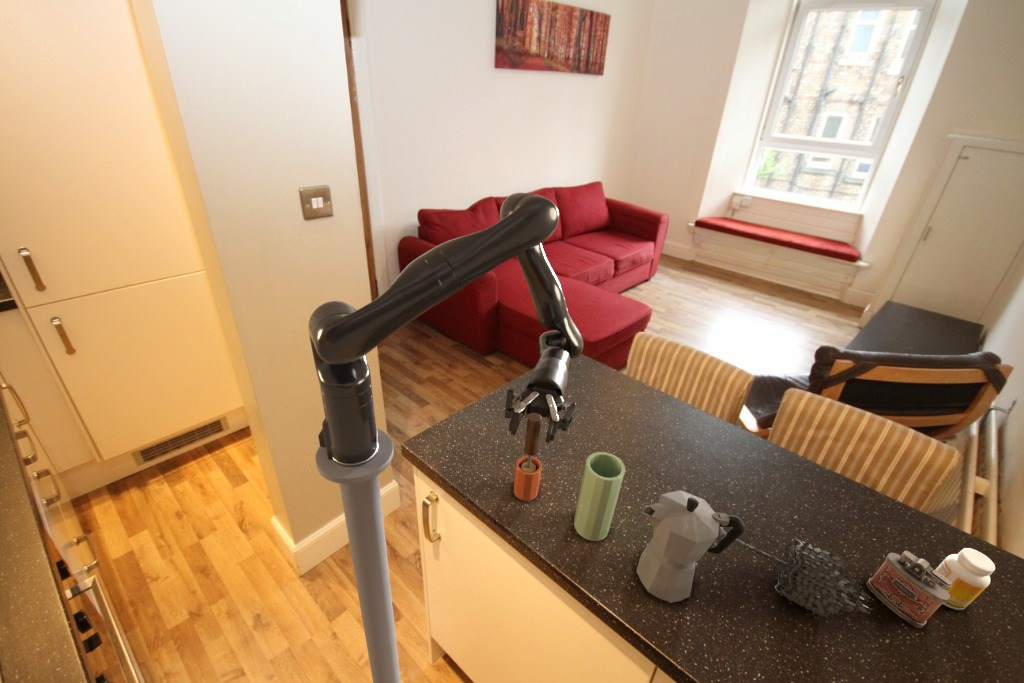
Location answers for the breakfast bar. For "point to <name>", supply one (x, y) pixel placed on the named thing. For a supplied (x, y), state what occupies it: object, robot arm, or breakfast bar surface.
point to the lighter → (910, 587)
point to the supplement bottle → (966, 576)
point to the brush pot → (527, 480)
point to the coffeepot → (681, 542)
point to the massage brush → (813, 578)
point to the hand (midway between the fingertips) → (530, 434)
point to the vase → (598, 495)
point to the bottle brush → (531, 441)
